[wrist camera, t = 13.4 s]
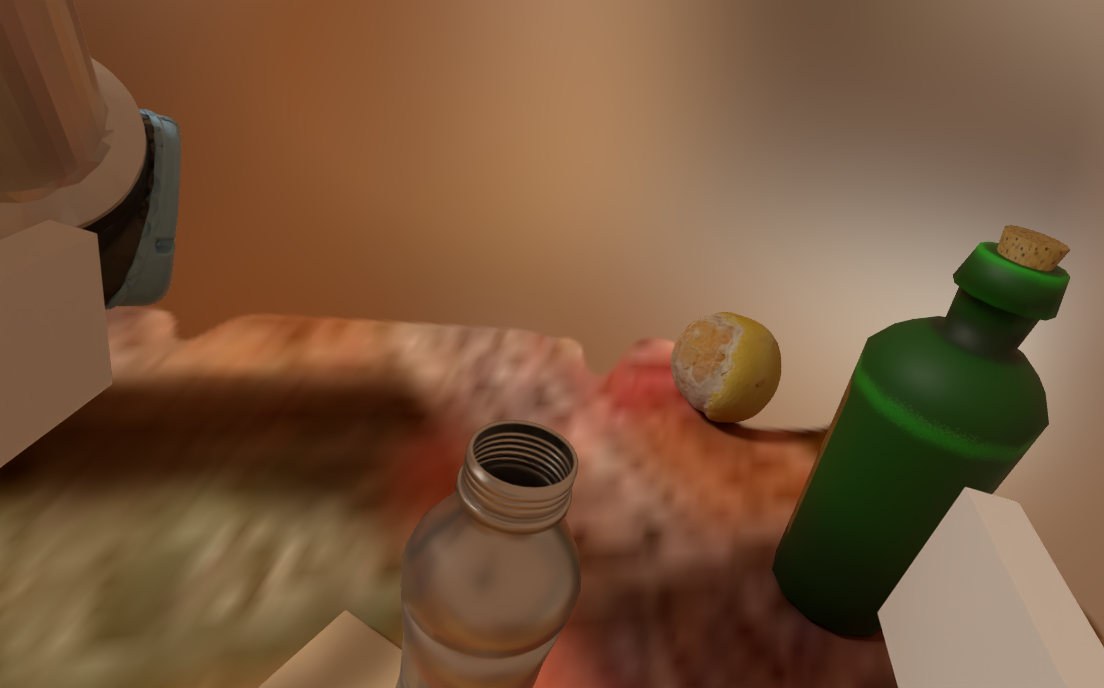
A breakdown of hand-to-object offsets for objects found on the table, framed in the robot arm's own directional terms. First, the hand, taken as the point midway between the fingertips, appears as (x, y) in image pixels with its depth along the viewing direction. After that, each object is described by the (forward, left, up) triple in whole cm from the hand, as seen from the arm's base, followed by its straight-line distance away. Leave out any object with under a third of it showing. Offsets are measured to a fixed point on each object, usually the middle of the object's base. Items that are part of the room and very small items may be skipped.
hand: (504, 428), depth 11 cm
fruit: (-4, +54, -30) cm, 62 cm away
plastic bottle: (-3, +9, -28) cm, 30 cm away
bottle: (+11, +38, -30) cm, 49 cm away
